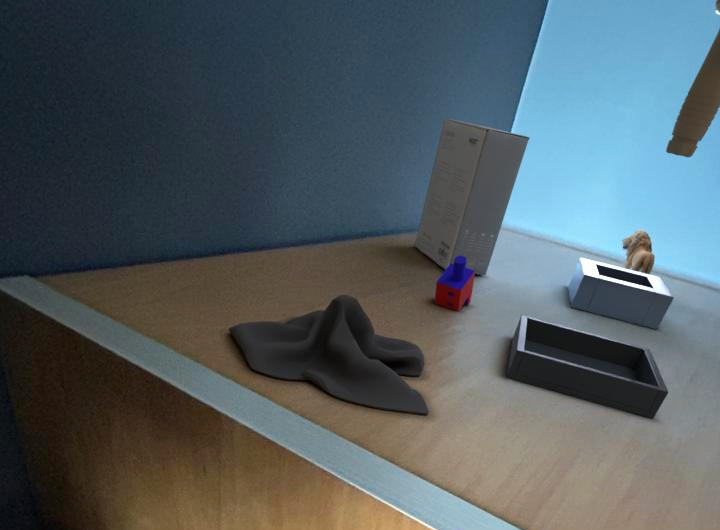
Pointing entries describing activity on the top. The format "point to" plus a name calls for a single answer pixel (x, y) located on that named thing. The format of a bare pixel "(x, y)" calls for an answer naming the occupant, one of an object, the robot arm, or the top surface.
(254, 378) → the top surface
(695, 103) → the handle
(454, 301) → the toy building block
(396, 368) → the cloth
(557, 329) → the basin
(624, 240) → the lion figurine
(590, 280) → the block
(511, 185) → the hard drive box
